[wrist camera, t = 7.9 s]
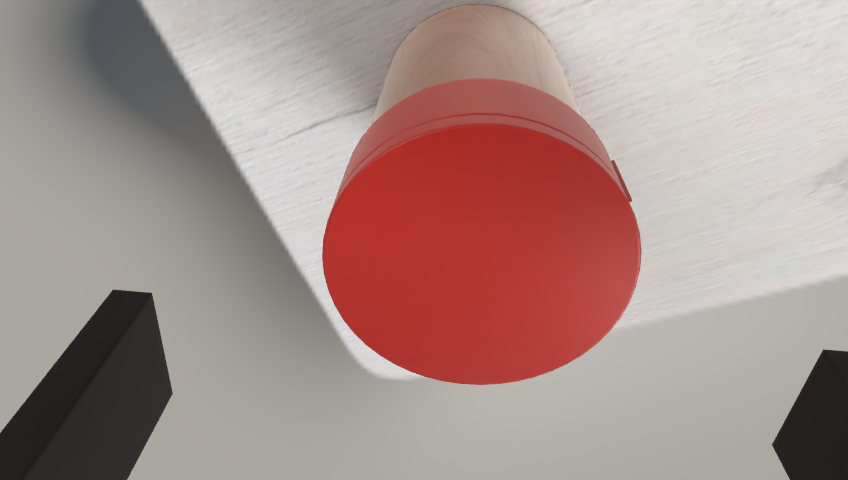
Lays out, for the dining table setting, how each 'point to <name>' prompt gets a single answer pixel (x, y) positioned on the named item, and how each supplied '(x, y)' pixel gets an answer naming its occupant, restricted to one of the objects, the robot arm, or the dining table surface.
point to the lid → (481, 235)
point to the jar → (474, 55)
